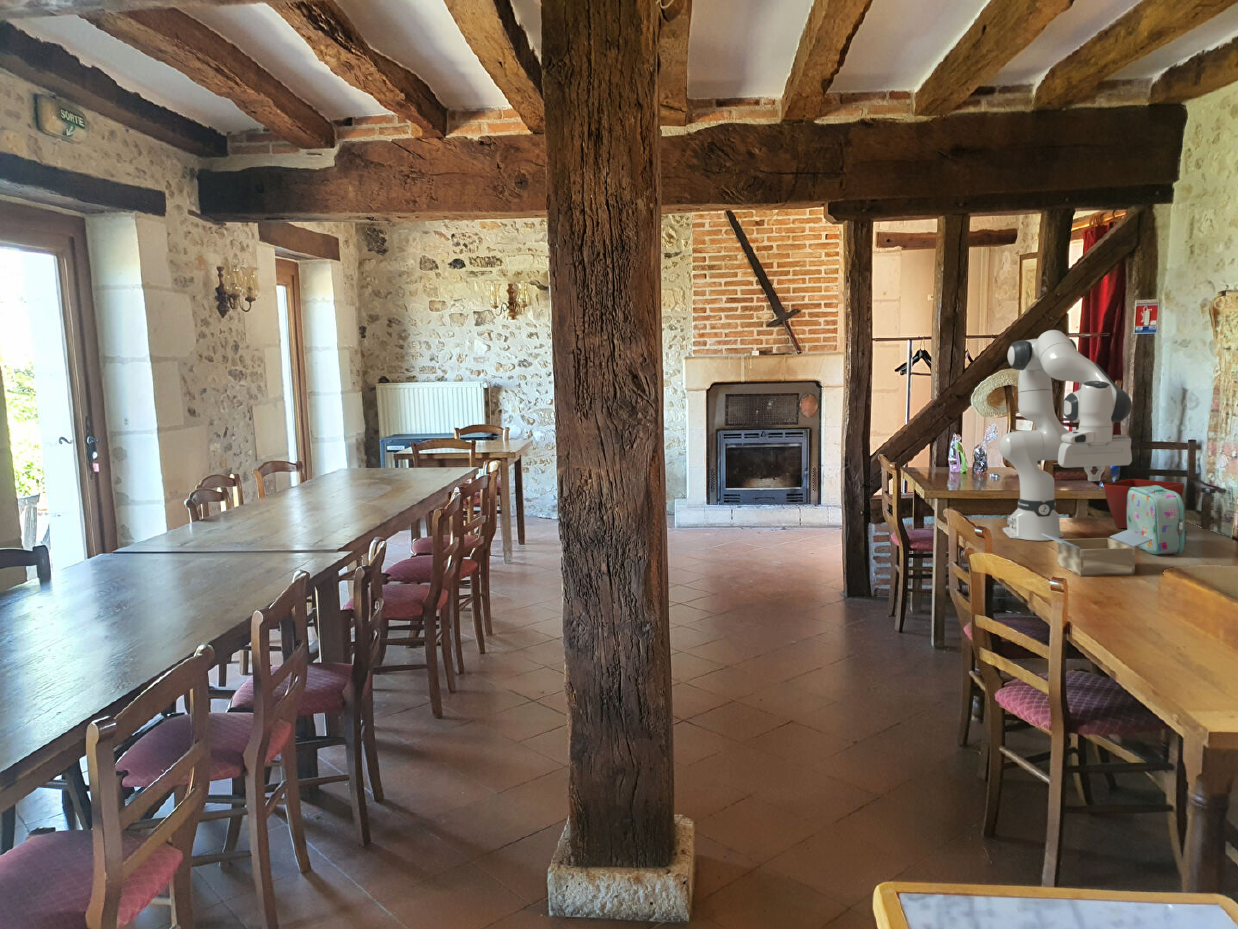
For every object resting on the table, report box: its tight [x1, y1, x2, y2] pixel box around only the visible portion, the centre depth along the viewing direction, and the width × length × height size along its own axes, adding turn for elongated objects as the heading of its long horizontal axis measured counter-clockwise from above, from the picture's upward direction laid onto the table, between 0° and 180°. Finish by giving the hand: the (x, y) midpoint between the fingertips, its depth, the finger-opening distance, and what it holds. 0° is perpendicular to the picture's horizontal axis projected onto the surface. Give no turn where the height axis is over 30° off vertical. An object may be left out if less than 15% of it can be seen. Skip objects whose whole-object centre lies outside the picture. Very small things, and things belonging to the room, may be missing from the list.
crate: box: [1056, 537, 1136, 577], centre depth 254 cm, size 15×16×8 cm
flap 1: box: [1041, 533, 1080, 549], centre depth 254 cm, size 14×1×6 cm
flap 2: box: [1109, 529, 1153, 548], centre depth 253 cm, size 14×1×6 cm
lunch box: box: [1126, 485, 1187, 555], centre depth 274 cm, size 27×10×21 cm, turn 168°
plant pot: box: [1103, 478, 1185, 529], centre depth 306 cm, size 19×19×17 cm
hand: (1094, 480), depth 251 cm, fingers closed
